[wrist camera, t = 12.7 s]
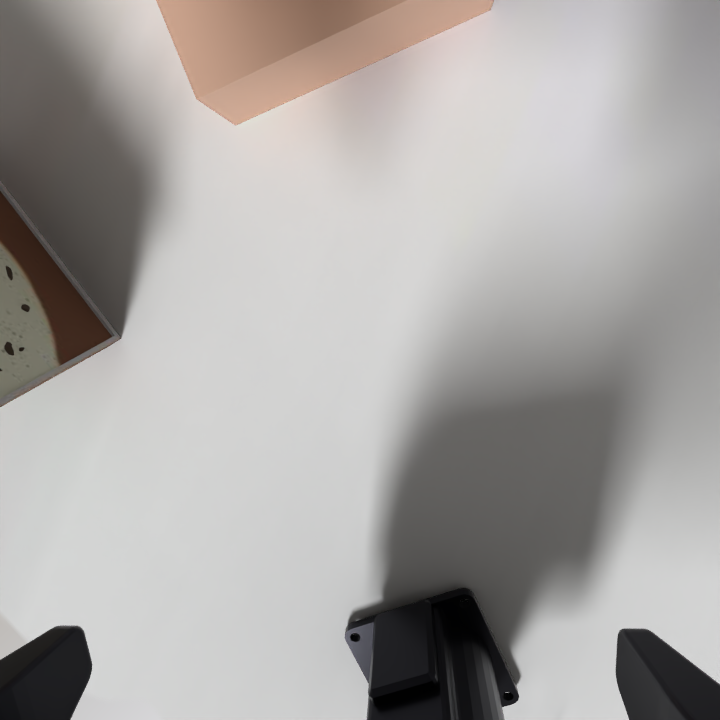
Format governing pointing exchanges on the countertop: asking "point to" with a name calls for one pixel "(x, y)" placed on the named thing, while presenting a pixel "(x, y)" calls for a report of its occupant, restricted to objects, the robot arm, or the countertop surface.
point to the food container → (40, 308)
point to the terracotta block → (294, 43)
